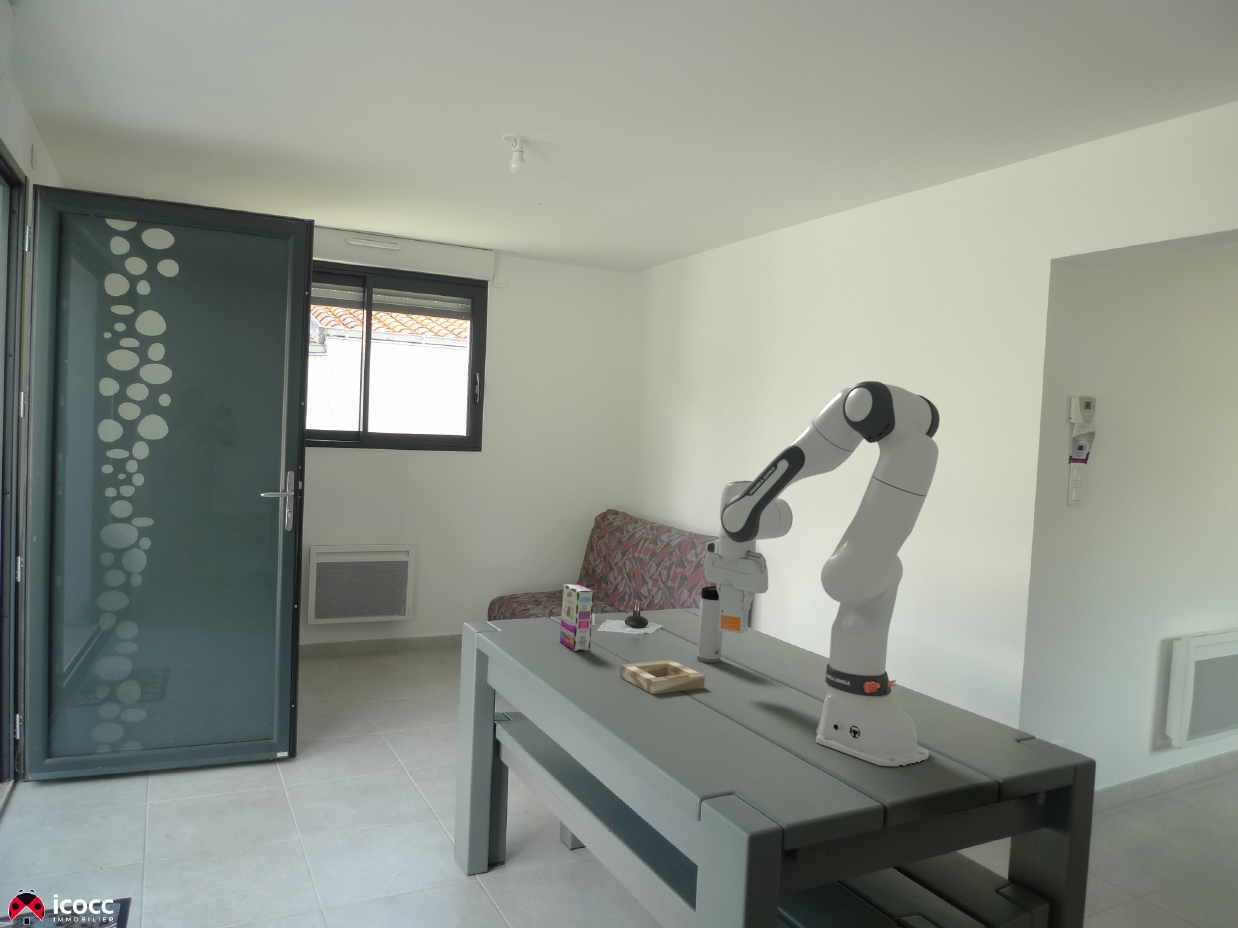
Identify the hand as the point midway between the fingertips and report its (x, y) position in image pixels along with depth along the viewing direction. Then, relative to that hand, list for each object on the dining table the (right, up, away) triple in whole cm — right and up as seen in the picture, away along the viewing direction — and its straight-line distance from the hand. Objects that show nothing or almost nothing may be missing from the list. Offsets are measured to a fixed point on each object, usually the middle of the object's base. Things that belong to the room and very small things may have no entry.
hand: (734, 606), depth 204 cm
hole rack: (-17, -18, +1) cm, 25 cm away
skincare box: (0, -6, 0) cm, 6 cm away
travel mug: (-3, -19, +24) cm, 31 cm away
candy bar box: (-40, -16, +30) cm, 53 cm away
